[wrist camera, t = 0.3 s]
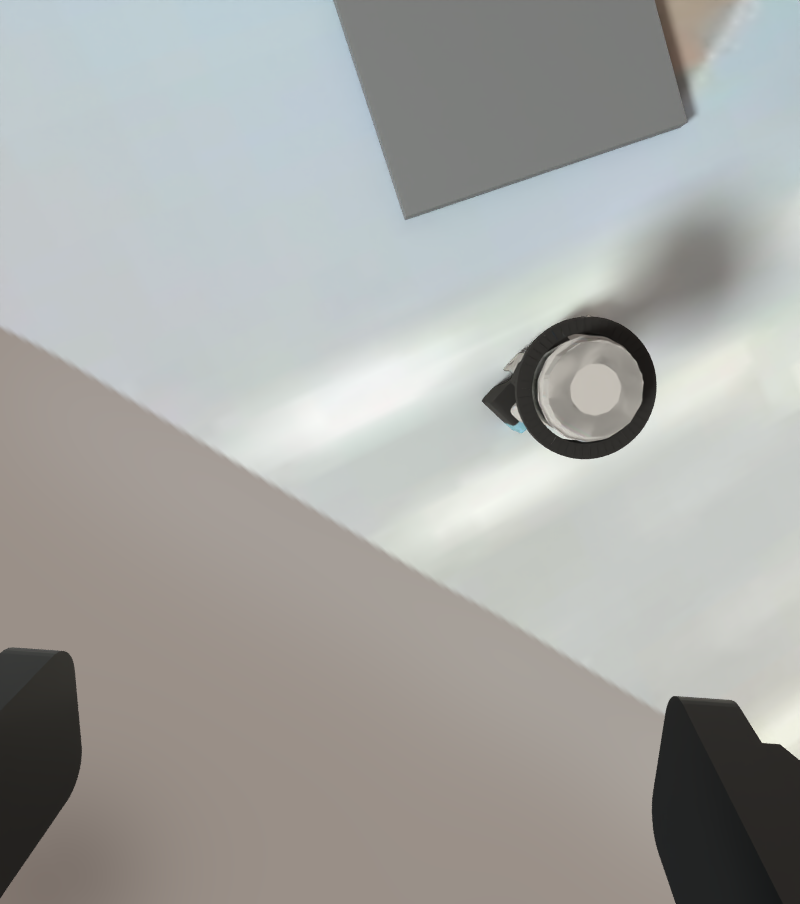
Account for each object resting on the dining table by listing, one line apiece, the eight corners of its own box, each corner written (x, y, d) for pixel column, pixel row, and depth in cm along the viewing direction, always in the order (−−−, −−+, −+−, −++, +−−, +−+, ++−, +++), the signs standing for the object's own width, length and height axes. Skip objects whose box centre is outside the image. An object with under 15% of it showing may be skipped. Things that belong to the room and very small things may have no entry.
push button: (547, 285, 36) (620, 255, 26) (623, 359, 37) (722, 357, 27) (454, 386, 37) (492, 394, 27) (532, 458, 37) (596, 492, 27)
